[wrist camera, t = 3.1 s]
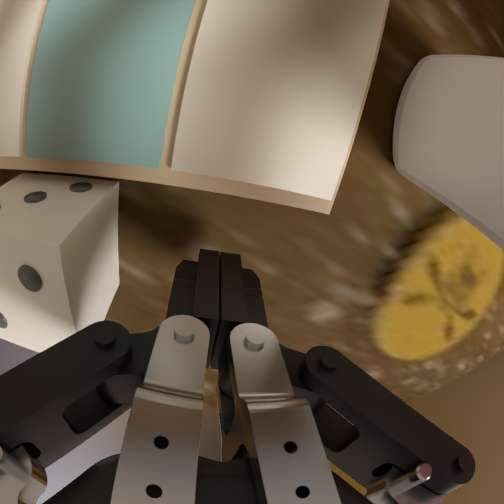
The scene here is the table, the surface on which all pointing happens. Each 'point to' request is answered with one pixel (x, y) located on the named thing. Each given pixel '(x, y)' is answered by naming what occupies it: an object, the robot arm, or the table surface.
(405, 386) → the table surface
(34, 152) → the track board
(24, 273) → the die
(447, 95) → the eye dropper bottle
